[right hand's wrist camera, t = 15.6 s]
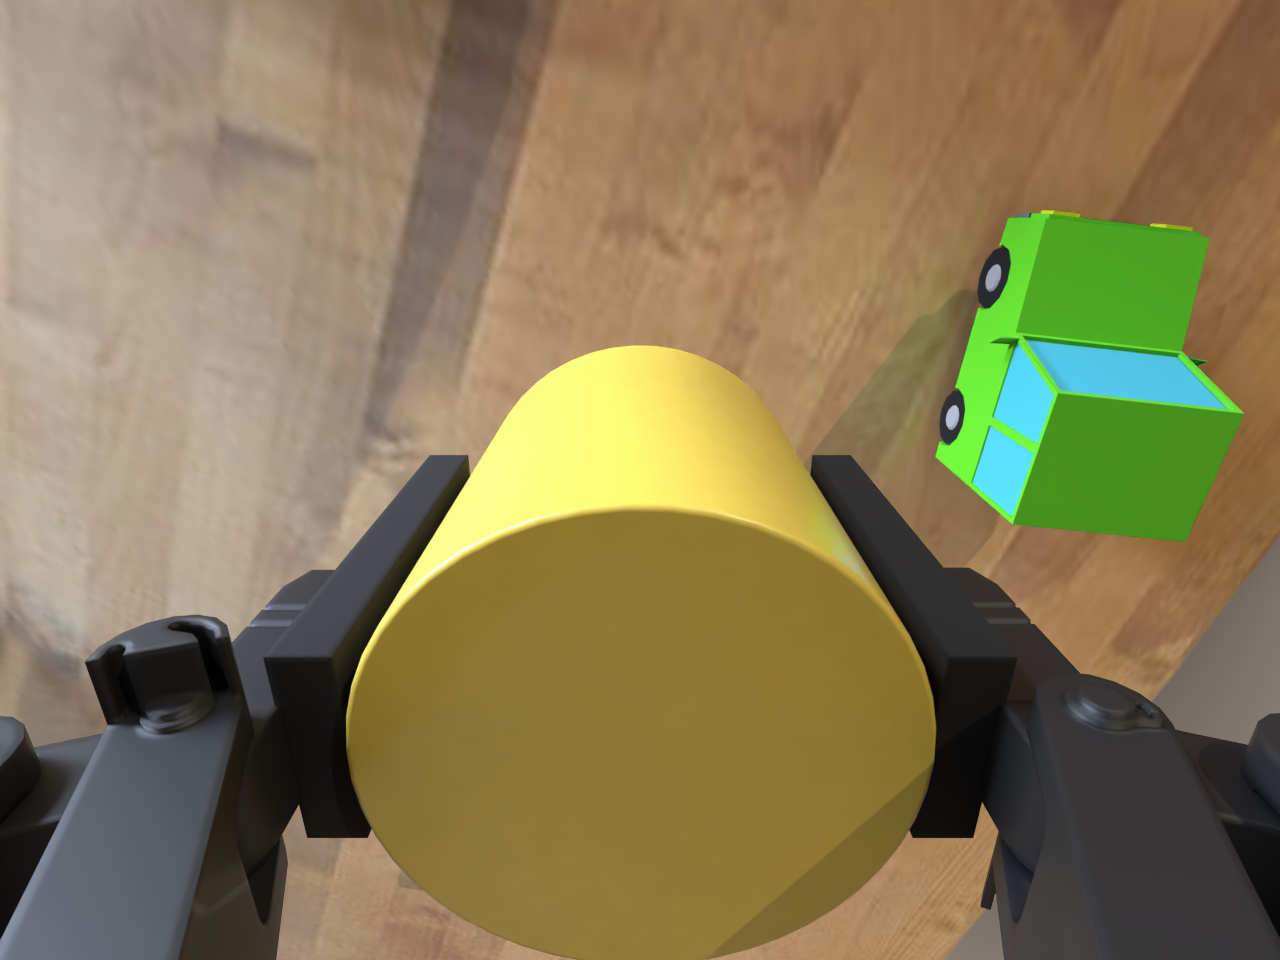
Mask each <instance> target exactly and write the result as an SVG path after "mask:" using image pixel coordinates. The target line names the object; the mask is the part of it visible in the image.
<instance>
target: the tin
mask: <svg viewBox="0 0 1280 960" xmlns="http://www.w3.org/2000/svg"><path fill="white" fill-rule="evenodd" d="M935 740H936V721H935V711H934V701H933V695H932V691H931V688H930V684H929V681H928V677H927V674H926V670H925V666H924V664H923V662H922V660H921V658H920V656H919V654H918V651H917V649H916V647H915V645H914V643H913V641H912V639H911V637H910V635H909V633H908V632H907V630H906V628H905V627H904V625H903V624H902V622H901V620H900V619H899V617H898V615H897V614H896V612H895V611H894V609H893V607H892V606H891V604H890V603H889V601H888V599H887V598H886V596H885V595H884V593H883V591H882V590H881V588H880V587H879V585H878V583H877V582H876V580H875V578H874V577H873V575H872V574H871V572H870V570H869V569H868V567H867V566H866V564H865V562H864V561H863V559H862V558H861V556H860V554H859V553H858V551H857V550H856V548H855V546H854V545H853V543H852V541H851V540H850V538H849V537H848V535H847V533H846V532H845V530H844V529H843V527H842V525H841V524H840V522H839V521H838V519H837V517H836V516H835V514H834V512H833V511H832V509H831V508H830V506H829V504H828V503H827V501H826V500H825V498H824V496H823V495H822V493H821V492H820V490H819V488H818V487H817V485H816V484H815V482H814V480H813V479H812V477H811V475H810V474H809V472H808V471H807V469H806V467H805V466H804V464H803V463H802V461H801V459H800V458H799V456H798V455H797V453H796V451H795V450H794V448H793V447H792V445H791V443H790V442H789V440H788V438H787V437H786V435H785V434H784V432H783V430H782V429H781V427H780V426H779V424H778V422H777V421H776V419H775V418H774V416H773V415H772V413H771V412H770V410H769V409H768V408H767V406H766V405H765V403H764V402H763V401H762V400H761V399H760V398H759V397H758V396H757V394H756V393H755V392H754V391H753V390H752V389H751V388H750V387H749V386H747V385H746V384H745V383H744V382H743V381H741V380H740V379H739V378H738V377H737V376H735V375H734V374H732V373H731V372H729V371H727V370H726V369H724V368H722V367H721V366H719V365H718V364H716V363H713V362H711V361H709V360H707V359H704V358H702V357H700V356H698V355H694V354H691V353H687V352H684V351H681V350H677V349H671V348H665V347H658V346H625V347H615V348H609V349H605V350H601V351H597V352H593V353H590V354H587V355H584V356H582V357H579V358H577V359H574V360H572V361H570V362H568V363H566V364H564V365H562V366H560V367H559V368H557V369H555V370H553V371H552V372H550V373H549V374H548V375H546V376H545V377H544V378H542V379H541V380H540V381H538V382H537V383H536V384H535V385H534V386H533V387H532V388H531V389H530V390H528V391H527V392H526V393H525V394H524V395H523V396H522V397H521V399H520V400H519V401H518V402H517V404H516V405H515V406H514V408H513V409H512V410H511V412H510V413H509V414H508V416H507V418H506V419H505V421H504V423H503V424H502V426H501V427H500V429H499V431H498V432H497V434H496V435H495V437H494V439H493V440H492V442H491V444H490V445H489V447H488V448H487V450H486V452H485V453H484V455H483V457H482V458H481V460H480V461H479V463H478V465H477V466H476V468H475V469H474V471H473V473H472V474H471V476H470V478H469V479H468V481H467V482H466V484H465V486H464V487H463V489H462V491H461V492H460V494H459V495H458V497H457V499H456V500H455V502H454V503H453V505H452V507H451V508H450V510H449V512H448V513H447V515H446V516H445V518H444V520H443V521H442V523H441V525H440V526H439V528H438V529H437V531H436V533H435V534H434V536H433V537H432V539H431V541H430V542H429V544H428V546H427V547H426V549H425V550H424V552H423V554H422V555H421V557H420V559H419V560H418V562H417V563H416V565H415V567H414V568H413V570H412V571H411V573H410V575H409V576H408V578H407V580H406V581H405V583H404V584H403V586H402V588H401V589H400V591H399V593H398V594H397V596H396V597H395V599H394V601H393V602H392V604H391V605H390V607H389V609H388V610H387V612H386V614H385V615H384V617H383V618H382V620H381V622H380V623H379V625H378V627H377V629H376V630H375V632H374V634H373V636H372V638H371V639H370V641H369V643H368V645H367V647H366V649H365V650H364V652H363V654H362V656H361V659H360V662H359V665H358V668H357V671H356V674H355V676H354V679H353V682H352V685H351V690H350V696H349V702H348V708H347V714H346V752H347V757H348V763H349V769H350V775H351V780H352V783H353V786H354V789H355V792H356V795H357V798H358V801H359V804H360V807H361V809H362V811H363V813H364V815H365V817H366V819H367V821H368V823H369V825H370V826H371V828H372V830H373V832H374V834H375V836H376V837H377V839H378V840H379V841H380V843H381V844H382V846H383V847H384V848H385V850H386V851H387V852H388V854H389V855H390V857H391V858H392V859H393V861H394V862H395V863H396V864H397V865H398V866H399V867H400V868H401V869H402V870H403V871H404V872H405V873H406V874H407V875H408V876H409V878H410V879H411V880H412V881H413V882H414V883H415V884H417V885H418V886H419V887H420V888H421V889H423V890H424V891H425V892H426V893H427V894H429V895H430V896H431V897H432V898H433V899H435V900H436V901H437V902H438V903H440V904H441V905H443V906H445V907H446V908H448V909H449V910H451V911H452V912H454V913H455V914H457V915H458V916H460V917H461V918H463V919H464V920H466V921H468V922H470V923H472V924H474V925H476V926H478V927H480V928H482V929H484V930H486V931H488V932H490V933H492V934H494V935H496V936H499V937H501V938H504V939H506V940H509V941H512V942H514V943H517V944H519V945H522V946H525V947H528V948H532V949H535V950H539V951H542V952H545V953H549V954H552V955H557V956H562V957H567V958H572V959H578V960H704V959H710V958H716V957H720V956H724V955H728V954H732V953H736V952H740V951H744V950H748V949H751V948H753V947H756V946H759V945H762V944H765V943H767V942H770V941H773V940H776V939H779V938H781V937H783V936H785V935H787V934H789V933H791V932H794V931H796V930H798V929H800V928H802V927H804V926H806V925H808V924H810V923H812V922H813V921H815V920H817V919H818V918H820V917H822V916H823V915H825V914H827V913H828V912H830V911H831V910H833V909H835V908H836V907H837V906H839V905H840V904H841V903H843V902H844V901H845V900H847V899H848V898H849V897H850V896H852V895H853V894H854V893H856V892H857V891H858V890H860V889H861V888H862V887H863V886H864V885H865V884H866V883H867V882H868V881H869V880H870V879H871V878H872V877H873V876H874V875H875V874H876V873H877V872H878V871H879V870H880V869H881V868H882V867H883V866H884V865H885V863H886V862H887V861H888V860H889V858H890V857H891V856H892V855H893V853H894V852H895V851H896V850H897V848H898V847H899V846H900V845H901V843H902V841H903V839H904V838H905V836H906V834H907V833H908V831H909V829H910V828H911V826H912V824H913V823H914V821H915V819H916V817H917V815H918V812H919V810H920V807H921V805H922V803H923V800H924V798H925V795H926V793H927V790H928V786H929V781H930V777H931V773H932V769H933V764H934V756H935Z"/></svg>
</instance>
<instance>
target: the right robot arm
mask: <svg viewBox="0 0 1280 960" xmlns="http://www.w3.org/2000/svg"><path fill="white" fill-rule="evenodd" d="M811 477H812V479H813V480H814V482H815V484H816V485H817V487H818V488H819V490H820V492H821V493H822V495H823V496H824V498H825V500H826V501H827V503H828V504H829V506H830V508H831V509H832V511H833V512H834V514H835V516H836V517H837V519H838V521H839V522H840V524H841V525H842V527H843V529H844V530H845V532H846V533H847V535H848V537H849V538H850V540H851V541H852V543H853V545H854V546H855V548H856V550H857V551H858V553H859V554H860V556H861V558H862V559H863V561H864V562H865V564H866V566H867V567H868V569H869V570H870V572H871V574H872V575H873V577H874V578H875V580H876V582H877V583H878V585H879V587H880V588H881V590H882V591H883V593H884V595H885V596H886V598H887V599H888V601H889V603H890V604H891V606H892V607H893V609H894V611H895V612H896V614H897V615H898V617H899V619H900V620H901V622H902V624H903V625H904V627H905V628H906V630H907V632H908V633H909V635H910V637H911V639H912V641H913V643H914V645H915V647H916V649H917V651H918V654H919V656H920V658H921V660H922V662H923V664H924V666H925V670H926V674H927V677H928V681H929V684H930V688H931V691H932V695H933V701H934V711H935V721H936V740H935V756H934V764H933V769H932V773H931V777H930V781H929V786H928V790H927V793H926V795H925V798H924V800H923V803H922V805H921V807H920V810H919V812H918V815H917V817H916V819H915V821H914V823H913V824H912V826H911V828H910V829H909V830H910V832H911V835H912V837H913V838H973V836H974V832H975V828H976V824H977V820H978V816H979V812H980V808H981V804H982V802H983V804H984V806H985V808H986V809H987V811H988V813H989V815H990V816H991V818H992V820H993V822H994V823H995V825H996V827H997V829H998V830H999V832H998V836H997V840H996V844H995V848H994V851H993V855H992V859H991V863H990V867H989V870H988V874H987V878H986V882H985V886H984V889H983V894H982V901H981V907H983V908H986V909H989V910H990V909H991V906H992V902H993V899H994V895H995V894H996V897H997V905H998V913H999V921H1000V929H1001V938H1002V946H1003V954H1004V960H1280V713H1277V714H1269V715H1267V716H1266V717H1264V718H1263V719H1261V720H1260V721H1258V723H1257V725H1256V728H1255V730H1254V733H1253V735H1252V737H1251V740H1250V742H1249V744H1248V745H1246V744H1241V743H1236V742H1231V741H1226V740H1221V739H1216V738H1212V737H1207V736H1202V735H1197V734H1192V733H1187V732H1183V731H1179V730H1175V728H1174V726H1173V724H1172V723H1171V722H1170V720H1169V719H1168V718H1167V716H1166V715H1165V714H1164V713H1163V711H1162V710H1161V709H1160V708H1159V707H1158V706H1156V705H1155V704H1153V703H1152V702H1151V701H1149V700H1148V699H1147V698H1145V697H1144V696H1142V695H1141V694H1140V693H1138V692H1135V691H1133V690H1131V689H1129V688H1127V687H1125V686H1123V685H1121V684H1118V683H1116V682H1114V681H1110V680H1107V679H1103V678H1100V677H1096V676H1093V675H1088V674H1080V673H1079V672H1078V670H1077V669H1076V668H1075V667H1074V666H1073V665H1072V664H1071V663H1070V662H1069V661H1068V660H1067V659H1066V658H1065V657H1064V655H1063V654H1062V653H1061V652H1060V651H1059V650H1058V649H1057V648H1056V647H1055V646H1054V645H1053V644H1052V643H1051V641H1050V640H1049V639H1048V638H1047V637H1046V636H1045V635H1044V634H1043V633H1042V632H1041V631H1040V630H1039V629H1038V628H1037V626H1036V625H1035V624H1031V623H1030V619H1029V618H1028V617H1027V616H1026V615H1025V614H1024V612H1023V611H1022V610H1021V609H1020V608H1016V607H1015V603H1014V602H1013V601H1012V600H1011V599H1010V597H1009V596H1008V595H1007V594H1006V593H1005V592H1004V591H1003V590H1002V589H1001V588H1000V587H999V586H998V585H997V584H996V583H994V582H992V581H991V580H989V579H987V578H986V577H984V576H982V575H980V574H979V573H977V572H975V571H974V570H972V569H970V568H943V567H942V565H941V564H940V563H939V562H938V561H937V559H936V558H935V557H934V556H933V554H932V553H931V552H930V551H929V550H928V548H927V547H926V546H925V545H924V544H923V542H922V541H921V540H920V539H919V538H918V536H917V535H916V534H915V533H914V532H913V530H912V529H911V528H910V527H909V525H908V524H907V523H906V522H905V521H904V519H903V518H902V517H901V516H900V515H899V513H898V512H897V511H896V510H895V509H894V507H893V506H892V505H891V504H890V502H889V501H888V500H887V499H886V498H885V496H884V495H883V494H882V493H881V492H880V490H879V489H878V488H877V487H876V486H875V484H874V483H873V482H872V481H871V479H870V478H869V477H868V476H867V475H866V473H865V472H864V471H863V470H862V469H861V467H860V466H859V465H858V464H857V463H856V461H855V460H854V459H853V458H852V457H851V455H812V465H811ZM469 478H470V470H469V460H468V455H430V456H429V457H428V458H427V459H426V461H425V462H424V463H423V464H422V466H421V467H420V468H419V469H418V470H417V472H416V473H415V474H414V475H413V476H412V478H411V479H410V480H409V481H408V482H407V484H406V485H405V486H404V487H403V489H402V490H401V491H400V492H399V493H398V495H397V496H396V497H395V498H394V499H393V501H392V502H391V503H390V504H389V505H388V507H387V508H386V509H385V510H384V512H383V513H382V514H381V515H380V516H379V518H378V519H377V520H376V521H375V522H374V524H373V525H372V526H371V527H370V528H369V530H368V531H367V532H366V533H365V535H364V536H363V537H362V538H361V539H360V541H359V542H358V543H357V544H356V545H355V547H354V548H353V549H352V550H351V551H350V553H349V554H348V555H347V556H346V558H345V559H344V560H343V561H342V562H341V564H340V565H339V566H338V567H337V568H336V570H311V571H309V572H308V573H306V574H304V575H303V576H301V577H299V578H298V579H296V580H294V581H292V582H291V583H289V584H287V585H286V586H284V587H283V588H282V589H281V590H280V591H279V592H278V593H277V594H276V596H275V597H274V598H273V599H272V600H271V601H270V602H269V603H268V604H267V605H266V610H262V611H261V612H260V613H259V614H258V615H257V616H256V617H255V618H254V619H253V620H252V622H251V626H250V627H246V628H245V629H244V630H243V631H242V632H241V633H240V635H239V636H238V637H237V638H236V639H235V640H234V641H233V642H232V643H231V639H230V635H229V631H228V628H227V625H226V624H224V623H223V622H222V621H220V620H219V619H217V618H215V617H208V616H202V615H188V616H176V617H170V618H166V619H162V620H158V621H154V622H150V623H146V624H144V625H141V626H139V627H136V628H134V629H131V630H129V631H126V632H124V633H122V634H120V635H118V636H116V637H115V638H113V639H112V640H110V641H108V642H107V643H105V644H103V645H102V646H100V647H99V648H98V649H97V650H96V651H95V652H94V653H93V654H92V655H91V656H90V657H89V658H88V659H87V660H86V661H85V664H86V666H87V669H88V672H89V675H90V677H91V680H92V683H93V686H94V689H95V691H96V694H97V697H98V700H99V702H100V705H101V708H102V711H103V713H104V716H105V719H106V722H107V724H108V725H107V727H106V729H105V731H104V733H102V734H98V735H94V736H89V737H84V738H79V739H74V740H69V741H65V742H60V743H55V744H50V745H45V746H40V747H35V748H33V745H32V743H31V740H30V738H29V736H28V733H27V731H26V728H25V726H24V724H22V723H21V722H19V721H18V720H16V719H14V718H13V717H4V716H0V960H276V956H277V948H278V940H279V932H280V923H281V915H282V907H283V899H284V891H285V882H286V874H287V866H288V861H287V854H286V848H285V844H284V840H283V836H282V833H283V832H284V830H285V828H286V826H287V824H288V823H289V821H290V819H291V817H292V816H293V814H294V812H295V810H296V809H297V807H298V805H299V806H300V810H301V814H302V818H303V822H304V826H305V830H306V834H307V838H368V836H369V834H370V831H371V829H372V828H371V826H370V825H369V823H368V821H367V819H366V817H365V815H364V813H363V811H362V809H361V807H360V804H359V801H358V798H357V795H356V792H355V789H354V786H353V783H352V780H351V775H350V769H349V763H348V757H347V752H346V714H347V708H348V702H349V696H350V690H351V685H352V682H353V679H354V676H355V674H356V671H357V668H358V665H359V662H360V659H361V656H362V654H363V652H364V650H365V649H366V647H367V645H368V643H369V641H370V639H371V638H372V636H373V634H374V632H375V630H376V629H377V627H378V625H379V623H380V622H381V620H382V618H383V617H384V615H385V614H386V612H387V610H388V609H389V607H390V605H391V604H392V602H393V601H394V599H395V597H396V596H397V594H398V593H399V591H400V589H401V588H402V586H403V584H404V583H405V581H406V580H407V578H408V576H409V575H410V573H411V571H412V570H413V568H414V567H415V565H416V563H417V562H418V560H419V559H420V557H421V555H422V554H423V552H424V550H425V549H426V547H427V546H428V544H429V542H430V541H431V539H432V537H433V536H434V534H435V533H436V531H437V529H438V528H439V526H440V525H441V523H442V521H443V520H444V518H445V516H446V515H447V513H448V512H449V510H450V508H451V507H452V505H453V503H454V502H455V500H456V499H457V497H458V495H459V494H460V492H461V491H462V489H463V487H464V486H465V484H466V482H467V481H468V479H469Z"/></svg>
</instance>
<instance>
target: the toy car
mask: <svg viewBox="0 0 1280 960" xmlns="http://www.w3.org/2000/svg"><path fill="white" fill-rule="evenodd" d="M1080 215H1081V214H1078V213H1070V212H1061V211H1049V210H1042V211H1041V214H1039V213H1025V214H1017V217H1016V218H1008V221H1007V224H1006V227H1005V230H1004V233H1003V236H1002V239H1001V242H1000V245H999V246H1005V247H1001V248H999V249H996V250H994V251H993V252H992V254H991V255H990V256H989V258H988V259H987V260H986V262H985V264H984V267H983V269H982V272H981V274H980V278H979V285H978V297H979V302H980V304H981V305H982V306H983V307H984V308H979V309H978V312H977V315H976V318H975V321H974V325H973V328H972V331H971V335H970V338H969V342H968V345H967V349H966V352H965V356H964V359H963V363H962V366H961V370H960V373H959V377H958V380H957V383H956V387H955V388H959V390H960V391H953V392H952V393H951V394H950V395H949V396H948V397H947V399H946V401H945V403H944V406H943V408H942V411H941V417H940V433H941V437H942V439H943V440H944V442H943V441H940V442H939V446H938V449H937V453H936V456H935V457H936V458H937V459H938V460H940V461H941V462H942V463H943V464H944V465H945V466H946V467H948V468H949V469H950V470H951V471H952V472H953V473H954V474H956V475H957V476H958V477H959V478H960V479H961V480H962V481H964V482H965V483H966V484H967V485H968V486H969V487H970V488H972V489H973V490H974V491H975V492H976V493H977V494H978V495H980V496H981V497H982V498H983V499H984V500H985V501H987V502H988V503H989V504H990V505H991V506H992V507H993V508H995V509H996V510H997V511H998V512H999V513H1000V514H1001V515H1003V516H1004V517H1005V518H1006V519H1007V520H1008V521H1009V522H1011V523H1012V524H1015V525H1025V526H1035V527H1045V528H1055V529H1064V530H1074V531H1084V532H1094V533H1104V534H1113V535H1123V536H1133V537H1143V538H1153V539H1162V540H1172V541H1182V542H1186V540H1187V538H1188V536H1189V534H1190V531H1191V529H1192V527H1193V525H1194V523H1195V521H1196V518H1197V516H1198V514H1199V512H1200V510H1201V507H1202V505H1203V503H1204V501H1205V499H1206V496H1207V494H1208V492H1209V490H1210V488H1211V485H1212V483H1213V481H1214V479H1215V477H1216V475H1217V472H1218V470H1219V468H1220V466H1221V464H1222V461H1223V459H1224V457H1225V455H1226V453H1227V450H1228V448H1229V446H1230V444H1231V442H1232V439H1233V437H1234V435H1235V433H1236V431H1237V428H1238V426H1239V424H1240V422H1241V420H1242V418H1243V415H1244V413H1243V412H1242V411H1241V410H1240V409H1239V408H1238V407H1237V406H1236V405H1235V404H1234V403H1233V402H1232V401H1231V400H1230V399H1229V398H1228V397H1227V396H1226V395H1225V394H1224V393H1223V392H1222V391H1221V390H1220V389H1219V388H1218V387H1217V386H1216V385H1215V384H1214V383H1213V382H1212V381H1211V380H1210V379H1209V378H1208V377H1207V376H1206V375H1205V374H1204V373H1203V372H1202V371H1201V370H1200V369H1199V368H1198V367H1197V365H1200V364H1202V363H1205V362H1207V360H1202V359H1195V358H1189V357H1187V356H1186V355H1185V354H1184V353H1183V352H1182V348H1183V344H1184V340H1185V336H1186V332H1187V328H1188V324H1189V320H1190V316H1191V312H1192V308H1193V304H1194V300H1195V296H1196V292H1197V288H1198V284H1199V280H1200V276H1201V272H1202V268H1203V264H1204V260H1205V256H1206V252H1207V248H1208V244H1209V240H1210V238H1206V237H1200V236H1201V233H1202V232H1195V231H1192V230H1193V227H1185V226H1177V225H1168V224H1151V225H1150V226H1146V225H1138V224H1130V223H1121V222H1113V221H1105V220H1097V219H1088V218H1080Z"/></svg>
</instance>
